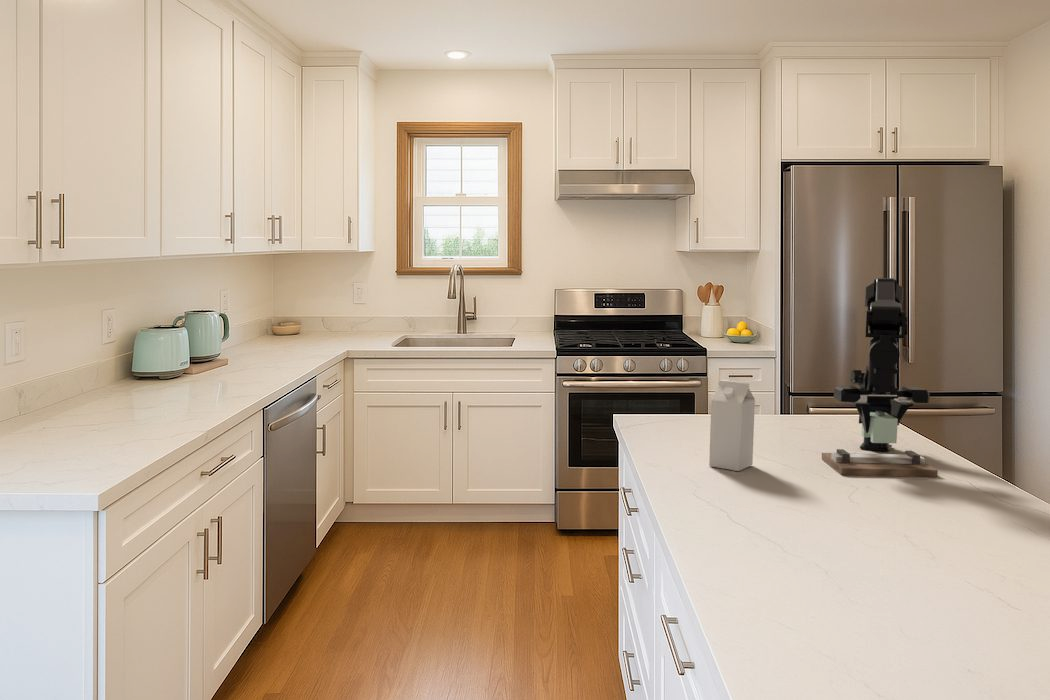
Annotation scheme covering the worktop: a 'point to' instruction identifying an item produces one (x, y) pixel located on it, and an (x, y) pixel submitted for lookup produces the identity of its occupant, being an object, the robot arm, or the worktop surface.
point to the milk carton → (732, 426)
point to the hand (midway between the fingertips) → (878, 432)
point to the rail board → (879, 464)
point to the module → (882, 428)
